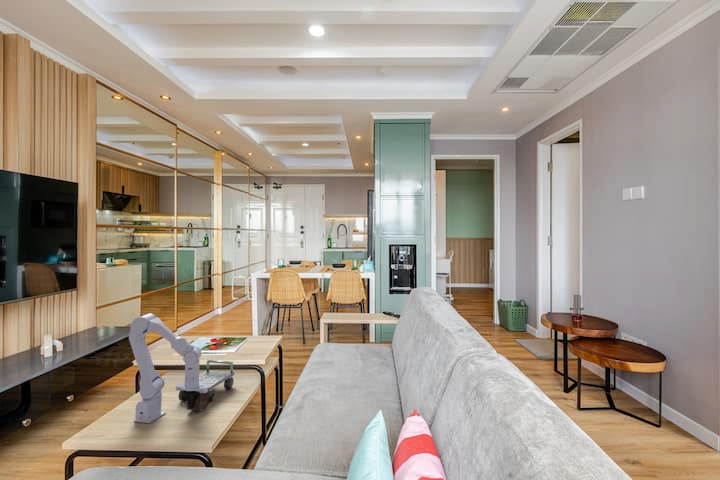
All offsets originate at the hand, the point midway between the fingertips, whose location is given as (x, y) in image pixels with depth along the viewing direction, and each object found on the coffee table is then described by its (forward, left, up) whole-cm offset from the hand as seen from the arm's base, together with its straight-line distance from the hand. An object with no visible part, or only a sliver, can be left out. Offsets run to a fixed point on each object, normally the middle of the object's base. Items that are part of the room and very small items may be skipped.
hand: (191, 407), depth 151 cm
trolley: (+21, +7, -3) cm, 22 cm away
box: (+4, 0, -2) cm, 4 cm away
